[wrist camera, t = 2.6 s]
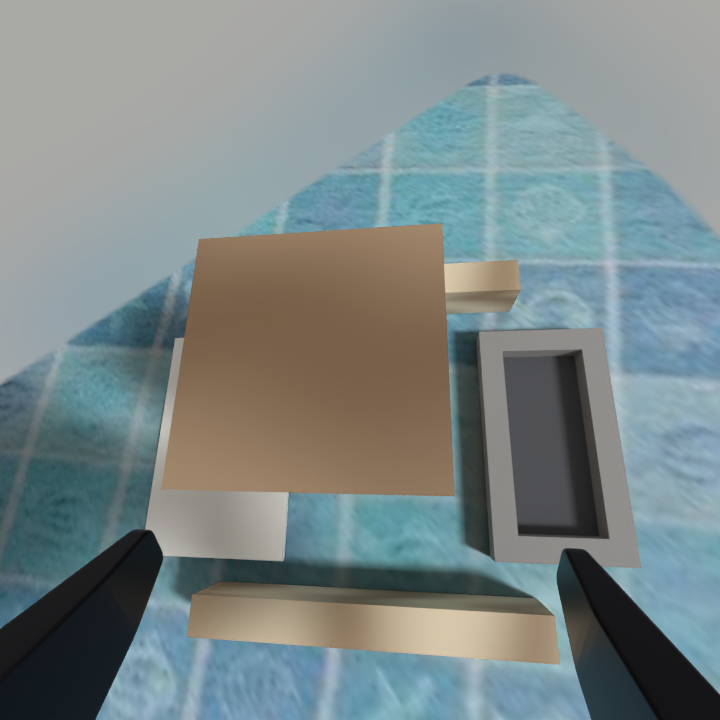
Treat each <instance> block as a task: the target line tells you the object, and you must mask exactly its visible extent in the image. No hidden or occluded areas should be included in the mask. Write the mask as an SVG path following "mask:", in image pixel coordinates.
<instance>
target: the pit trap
mask: <svg viewBox="0 0 720 720" xmlns="http://www.w3.org/2000/svg"><path fill="white" fill-rule="evenodd" d="M476 351H477V366H478V381H479V396H480V411H481V426H482V441H483V456H484V471H485V486H486V501H487V516H488V531H489V547H490V557H491V558H492V559H493V560H494V561H495V562H513V563H537V564H559V561H560V557H561V553H562V550H563V549H565V548H576V549H584V550H586V551H587V552H588V553H589V554H590V555H591V556H592V557H593V558H594V559H595V560H596V561H597V562H598V563H599V564H600V566H606V567H629V568H641V564H640V558H639V551H638V545H637V539H636V533H635V527H634V521H633V514H632V508H631V502H630V496H629V490H628V484H627V478H626V471H625V465H624V459H623V453H622V447H621V441H620V434H619V428H618V422H617V416H616V410H615V404H614V397H613V391H612V385H611V379H610V373H609V367H608V361H607V354H606V348H605V342H604V336H603V330H602V328H587V329H554V330H521V331H487V332H479V333H478V336H477V338H476Z"/></svg>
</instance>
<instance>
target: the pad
mask: <svg viewBox="0 0 720 720" xmlns="http://www.w3.org/2000/svg"><path fill="white" fill-rule="evenodd" d="M183 342H184V338H175V343H174V349H173V356H172V362H171V368H170V375H169V381H168V387H167V393H166V400H165V406H164V412H163V419H162V425H161V431H160V438H159V444H158V450H157V457H156V463H155V469H154V476H153V482H152V488H151V495H150V501H149V507H148V514H147V520H146V526H145V530H151V531H153V533H154V534H155V536H156V539H157V541H158V543H159V545H160V547H161V549H162V552H163V556H178V557H200V558H221V559H243V560H265V561H284V559H285V544H286V529H287V513H288V498H289V492H247V491H203V490H161V487H162V480H163V474H164V467H165V461H166V454H167V447H168V441H169V434H170V428H171V421H172V414H173V408H174V401H175V395H176V388H177V382H178V375H179V368H180V362H181V355H182V349H183Z"/></svg>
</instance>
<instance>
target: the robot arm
mask: <svg viewBox="0 0 720 720" xmlns="http://www.w3.org/2000/svg"><path fill="white" fill-rule="evenodd" d="M162 561H163V552H162V549H161V547H160V545H159V543H158V541H157V539H156V536H155V534H154V533H153V531H151V530H144V529H135V530H132V531H131V532H129V533H128V534H126V535H125V536H124V537H122V538H121V539H120V540H118V541H117V542H116V543H114V544H113V545H112V546H110V547H109V548H108V549H106V550H105V551H104V552H102V553H101V554H100V555H98V556H97V557H96V558H94V559H93V560H92V561H90V562H89V563H88V564H86V565H85V566H84V567H82V568H81V569H80V570H78V571H77V572H76V573H74V574H73V575H72V576H70V577H69V578H68V579H66V580H65V581H64V582H62V583H61V584H60V585H58V586H57V587H56V588H54V589H53V590H52V591H50V592H49V593H48V594H46V595H45V596H44V597H42V598H41V599H40V600H38V601H37V602H36V603H34V604H33V605H32V606H30V607H29V608H28V609H26V610H25V611H24V612H22V613H21V614H20V615H18V616H17V617H16V618H14V619H13V620H12V621H10V622H9V623H8V624H6V625H5V626H4V627H2V628H1V629H0V720H95V719H96V717H97V715H98V713H99V711H100V709H101V706H102V704H103V702H104V700H105V698H106V696H107V694H108V692H109V690H110V687H111V685H112V683H113V681H114V679H115V677H116V675H117V673H118V671H119V668H120V666H121V664H122V662H123V660H124V658H125V656H126V654H127V651H128V649H129V647H130V645H131V643H132V641H133V638H134V636H135V634H136V632H137V629H138V627H139V624H140V622H141V619H142V616H143V614H144V611H145V608H146V605H147V603H148V600H149V597H150V595H151V592H152V589H153V587H154V584H155V581H156V578H157V576H158V573H159V570H160V568H161V565H162ZM557 585H558V590H559V595H560V600H561V604H562V609H563V614H564V618H565V623H566V628H567V632H568V637H569V642H570V646H571V651H572V656H573V660H574V664H575V668H576V672H577V675H578V679H579V682H580V686H581V689H582V692H583V695H584V698H585V701H586V704H587V707H588V711H589V714H590V717H591V720H720V694H719V693H718V692H717V691H716V690H715V689H714V688H713V686H712V685H711V684H710V683H709V682H708V681H707V680H706V679H705V678H704V677H703V676H702V675H701V673H700V672H699V671H698V670H697V669H696V668H695V667H694V666H693V665H692V664H691V663H690V662H689V661H688V659H687V658H686V657H685V656H684V655H683V654H682V653H681V652H680V651H679V650H678V649H677V648H676V646H675V645H674V644H673V643H672V642H671V641H670V640H669V639H668V638H667V637H666V636H665V635H664V634H663V632H662V631H661V630H660V629H659V628H658V627H657V626H656V625H655V624H654V623H653V622H652V621H651V619H650V618H649V617H648V616H647V615H646V614H645V613H644V612H643V611H642V610H641V609H640V608H639V607H638V605H637V604H636V603H635V602H634V601H633V600H632V599H631V598H630V597H629V596H628V595H627V594H626V593H625V591H624V590H623V589H622V588H621V587H620V586H619V585H618V584H617V583H616V582H615V581H614V580H613V578H612V577H611V576H610V575H609V574H608V573H607V572H606V571H605V570H604V569H603V568H602V567H601V566H600V564H599V563H598V562H597V561H596V560H595V559H594V558H593V557H592V556H591V555H590V554H589V553H588V552H587V551H586V550H584V549H576V548H565V549H563V550H562V553H561V557H560V561H559V566H558V570H557Z"/></svg>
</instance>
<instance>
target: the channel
mask: <svg viewBox="0 0 720 720" xmlns="http://www.w3.org/2000/svg"><path fill="white" fill-rule="evenodd" d="M444 275H445V297H446V314H458V313H485V312H509V311H510V309H511V308H512V306H513V304H514V302H515V300H516V298H517V296H518V294H519V292H520V290H521V286H520V277H519V267H518V260H510V261H491V262H472V263H452V264H444ZM187 637H195V638H208V639H222V640H235V641H249V642H262V643H276V644H289V645H303V646H316V647H330V648H343V649H357V650H370V651H384V652H397V653H411V654H424V655H438V656H451V657H465V658H478V659H492V660H505V661H519V662H532V663H545V664H559V665H560V661H559V652H558V642H557V633H556V623H555V616H554V615H553V614H552V613H551V612H550V611H549V610H548V609H547V608H546V607H545V606H544V605H543V604H542V603H541V602H540V601H539V600H538V599H536V598H523V597H504V596H486V595H467V594H449V593H430V592H411V591H393V590H374V589H356V588H337V587H319V586H300V585H282V584H263V583H244V582H226V581H220V582H217V583H215V584H213V585H211V586H209V587H207V588H205V589H203V590H201V591H198V592H196V593H194V594H192V600H191V608H190V616H189V624H188V632H187Z"/></svg>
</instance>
